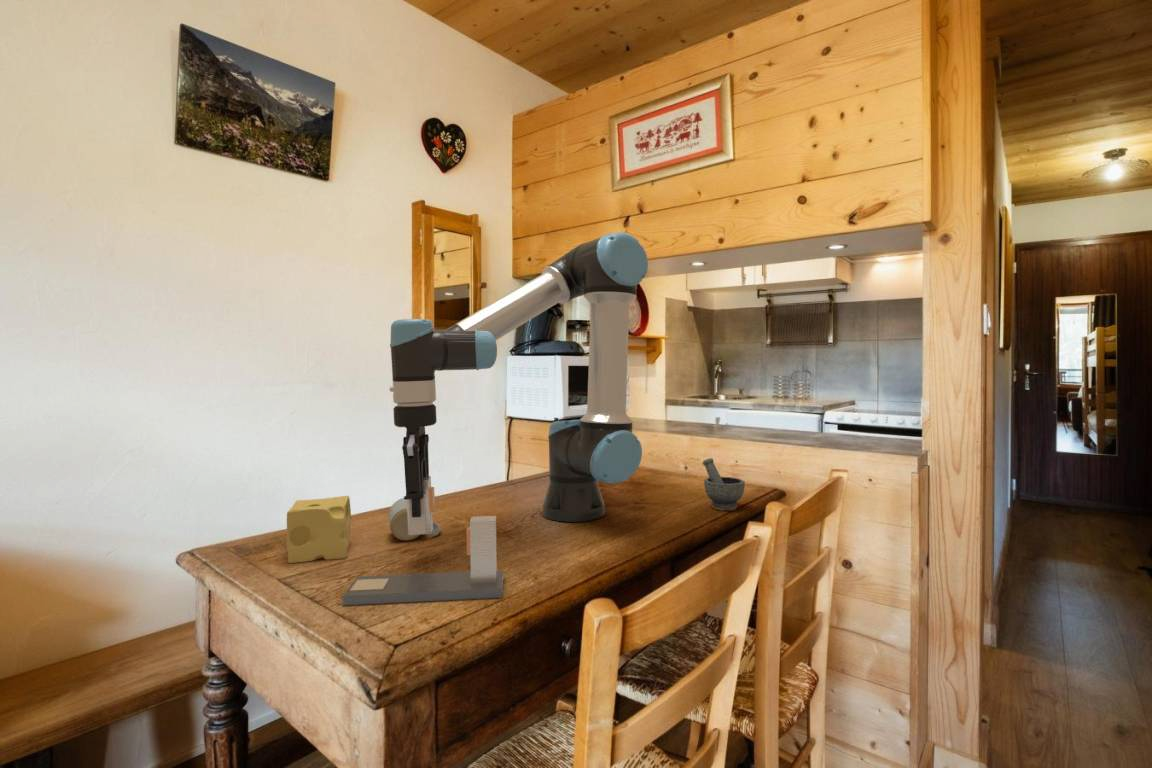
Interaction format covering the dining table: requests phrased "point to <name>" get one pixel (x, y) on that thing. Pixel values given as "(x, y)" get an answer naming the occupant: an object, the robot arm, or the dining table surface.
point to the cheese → (318, 529)
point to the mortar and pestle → (722, 488)
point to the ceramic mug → (404, 521)
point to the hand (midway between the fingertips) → (419, 530)
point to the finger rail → (439, 576)
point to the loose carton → (426, 505)
